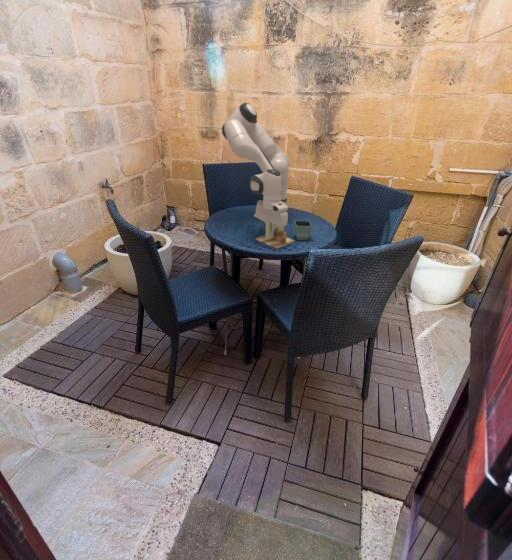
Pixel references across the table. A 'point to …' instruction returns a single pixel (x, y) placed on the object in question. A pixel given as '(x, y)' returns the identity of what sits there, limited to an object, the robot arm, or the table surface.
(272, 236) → the slot plate
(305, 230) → the flower pot
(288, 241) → the tan piece
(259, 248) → the table surface
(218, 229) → the table surface
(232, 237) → the table surface
